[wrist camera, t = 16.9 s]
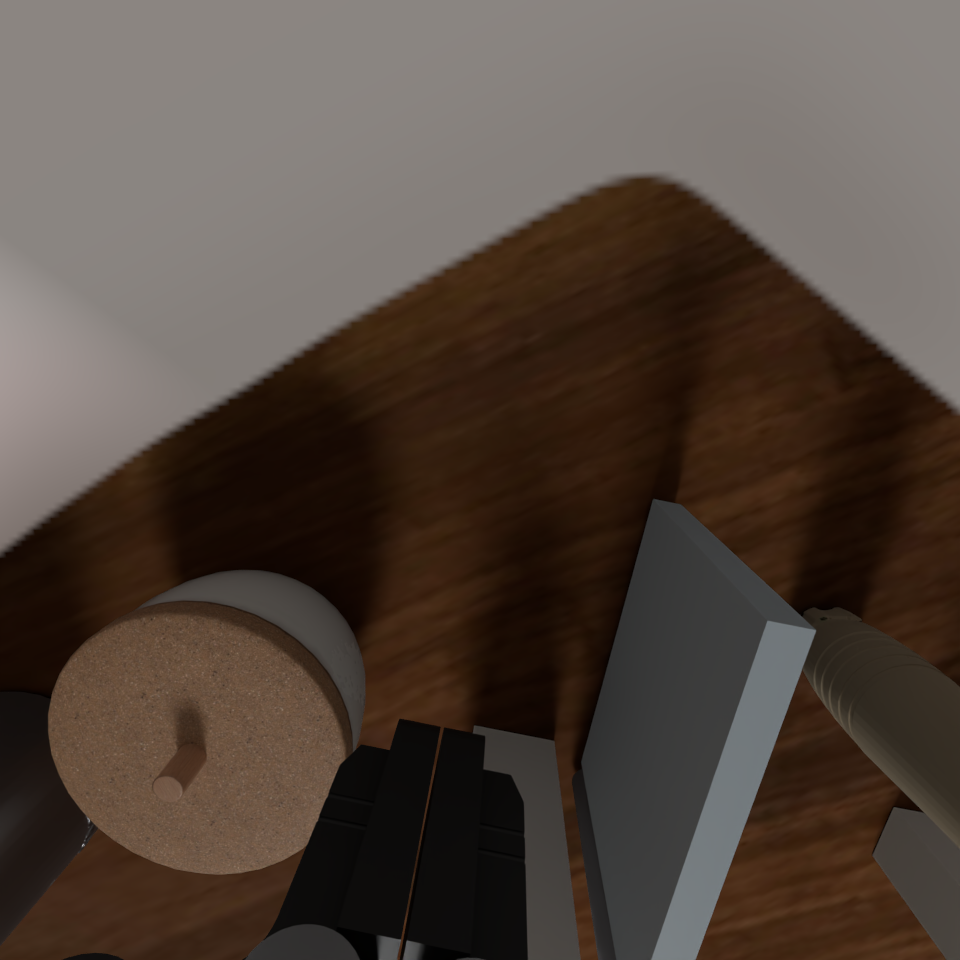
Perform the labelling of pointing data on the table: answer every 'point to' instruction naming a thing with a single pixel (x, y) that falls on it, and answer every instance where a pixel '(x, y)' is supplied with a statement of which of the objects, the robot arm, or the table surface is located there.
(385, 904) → the robot arm
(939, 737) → the tan tapered grip
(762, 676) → the door
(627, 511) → the table surface
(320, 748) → the lidded jar
